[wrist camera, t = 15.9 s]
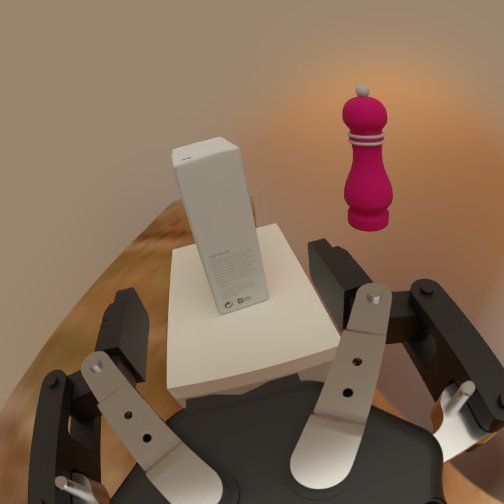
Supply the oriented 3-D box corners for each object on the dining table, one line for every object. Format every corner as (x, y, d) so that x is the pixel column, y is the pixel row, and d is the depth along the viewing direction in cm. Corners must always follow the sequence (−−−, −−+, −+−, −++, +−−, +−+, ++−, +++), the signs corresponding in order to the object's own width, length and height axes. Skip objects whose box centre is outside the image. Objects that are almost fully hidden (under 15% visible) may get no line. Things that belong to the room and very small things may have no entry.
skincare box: (271, 299, 23) (241, 146, 16) (219, 317, 22) (170, 166, 16) (250, 260, 28) (222, 134, 21) (207, 274, 27) (168, 149, 21)
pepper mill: (338, 214, 45) (327, 85, 34) (379, 207, 44) (374, 83, 33) (354, 237, 39) (345, 87, 28) (399, 229, 38) (399, 86, 27)
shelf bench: (196, 423, 20) (166, 388, 17) (188, 290, 36) (172, 249, 32) (339, 387, 21) (343, 343, 18) (282, 265, 36) (276, 223, 33)
